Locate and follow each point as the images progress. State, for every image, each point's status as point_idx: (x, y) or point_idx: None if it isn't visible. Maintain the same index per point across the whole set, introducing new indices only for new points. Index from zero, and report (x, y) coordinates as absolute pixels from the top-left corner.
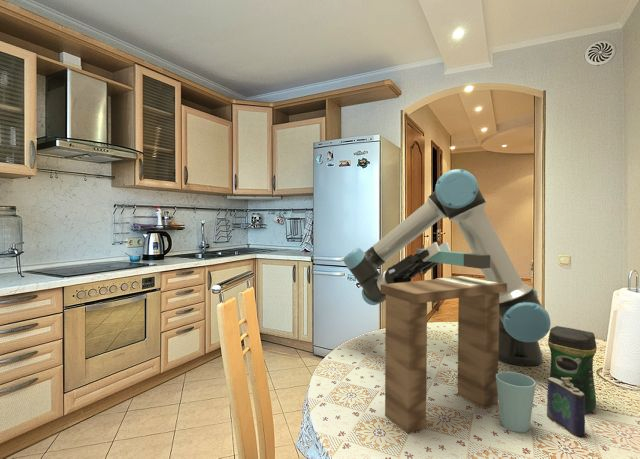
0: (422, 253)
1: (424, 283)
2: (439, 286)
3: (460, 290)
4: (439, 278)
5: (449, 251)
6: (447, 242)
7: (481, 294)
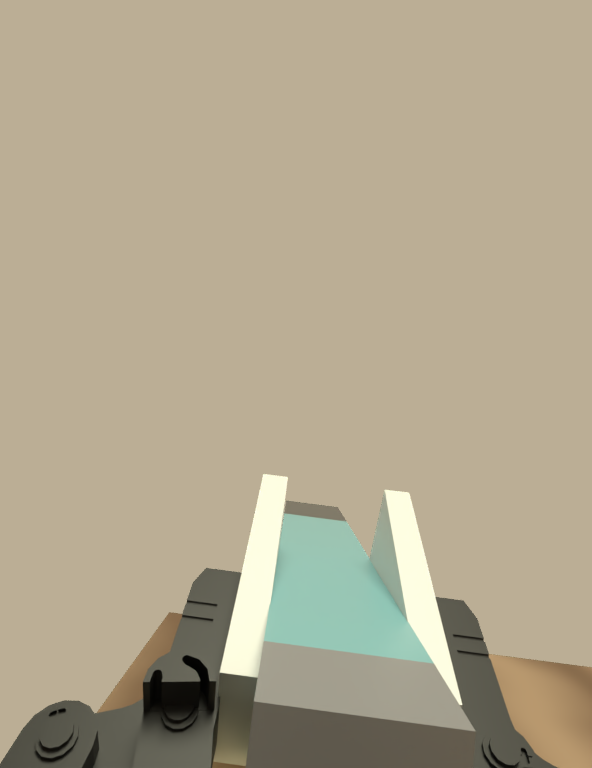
0: (477, 654)
1: (564, 747)
2: (506, 688)
3: None
4: None
5: (304, 544)
6: (265, 481)
7: None
